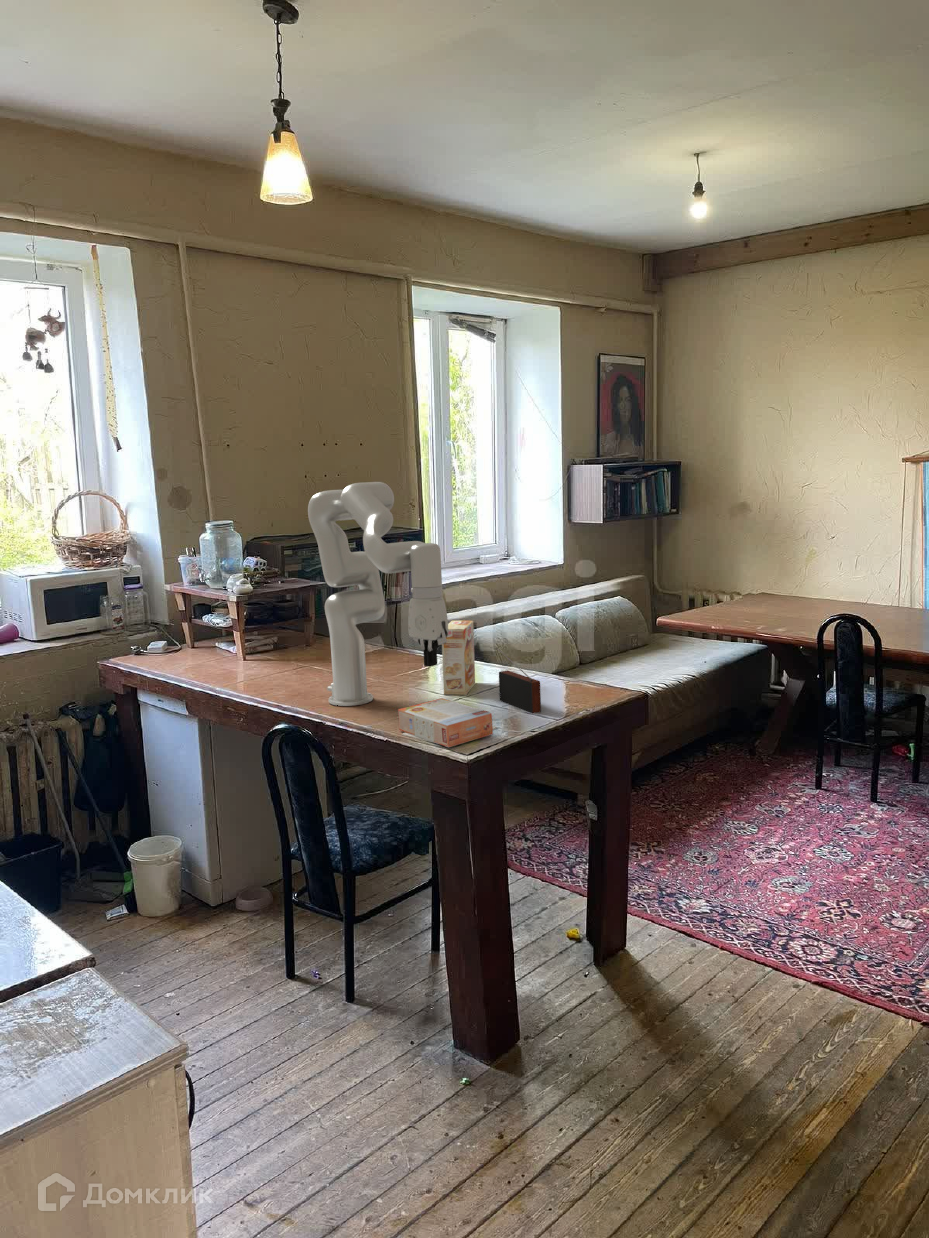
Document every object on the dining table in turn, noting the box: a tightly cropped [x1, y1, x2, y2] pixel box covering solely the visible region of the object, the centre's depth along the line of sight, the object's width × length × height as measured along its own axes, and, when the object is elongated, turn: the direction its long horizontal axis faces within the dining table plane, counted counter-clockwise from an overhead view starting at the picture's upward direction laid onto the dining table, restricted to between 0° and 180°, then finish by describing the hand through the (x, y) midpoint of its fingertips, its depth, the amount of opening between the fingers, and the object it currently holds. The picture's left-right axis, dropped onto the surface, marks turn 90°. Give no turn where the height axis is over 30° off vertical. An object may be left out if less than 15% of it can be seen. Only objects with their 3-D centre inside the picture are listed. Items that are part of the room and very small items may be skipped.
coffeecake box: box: [441, 619, 476, 696], centre depth 270 cm, size 15×7×20 cm, turn 168°
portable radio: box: [496, 647, 542, 714], centre depth 250 cm, size 19×3×15 cm, turn 30°
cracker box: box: [397, 697, 494, 748], centre depth 226 cm, size 14×6×21 cm
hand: (430, 665), depth 230 cm, fingers closed
